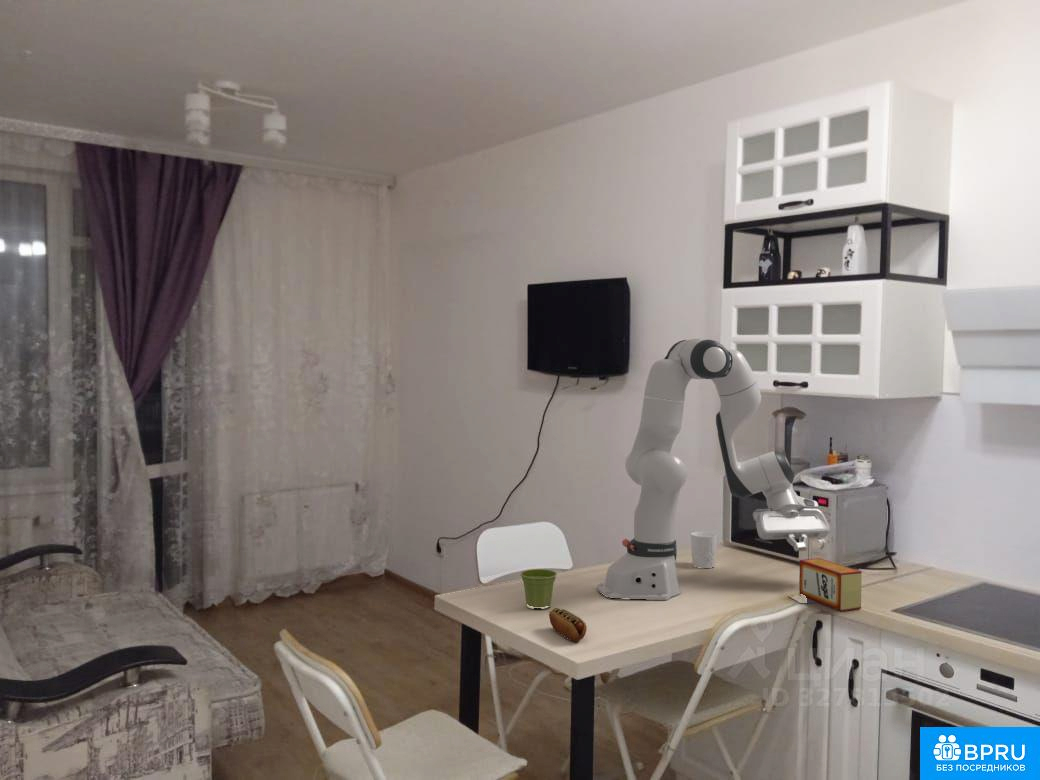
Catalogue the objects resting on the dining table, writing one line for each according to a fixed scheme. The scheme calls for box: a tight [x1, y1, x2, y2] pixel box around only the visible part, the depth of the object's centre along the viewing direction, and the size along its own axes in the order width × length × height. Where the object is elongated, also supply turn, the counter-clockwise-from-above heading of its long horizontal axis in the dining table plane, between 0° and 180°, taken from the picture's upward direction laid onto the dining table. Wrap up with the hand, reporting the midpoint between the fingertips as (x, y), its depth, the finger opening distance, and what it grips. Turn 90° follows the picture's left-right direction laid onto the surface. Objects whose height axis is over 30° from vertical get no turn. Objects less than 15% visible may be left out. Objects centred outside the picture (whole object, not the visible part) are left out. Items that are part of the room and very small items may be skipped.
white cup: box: [690, 531, 718, 569], centre depth 257 cm, size 8×8×10 cm
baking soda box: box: [798, 557, 862, 612], centre depth 218 cm, size 10×6×16 cm
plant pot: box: [520, 568, 558, 607], centre depth 213 cm, size 9×9×9 cm
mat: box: [806, 598, 820, 605], centre depth 221 cm, size 12×7×1 cm, turn 99°
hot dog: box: [548, 607, 587, 642], centre depth 191 cm, size 5×13×5 cm, turn 23°
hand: (801, 550), depth 228 cm, fingers closed
